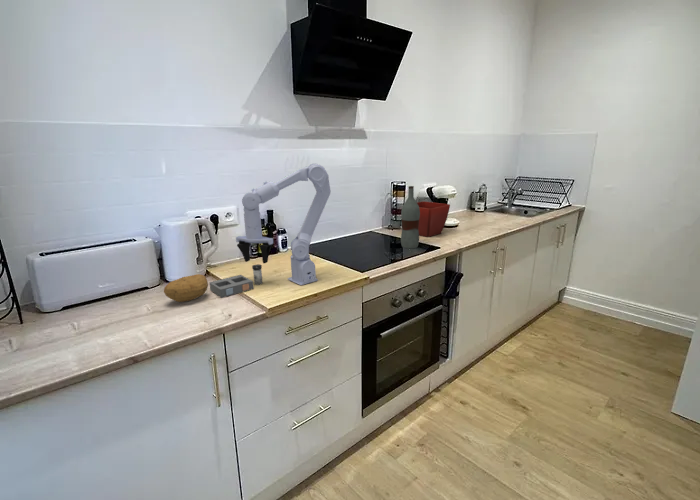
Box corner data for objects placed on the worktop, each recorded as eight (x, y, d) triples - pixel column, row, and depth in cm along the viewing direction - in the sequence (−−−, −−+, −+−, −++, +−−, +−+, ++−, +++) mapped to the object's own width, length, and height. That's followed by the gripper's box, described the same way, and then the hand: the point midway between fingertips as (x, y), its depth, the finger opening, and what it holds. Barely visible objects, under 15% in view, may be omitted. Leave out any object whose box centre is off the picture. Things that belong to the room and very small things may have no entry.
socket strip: (254, 289, 135) (253, 281, 134) (221, 298, 127) (220, 289, 127) (241, 282, 142) (240, 274, 142) (210, 290, 135) (209, 282, 134)
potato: (161, 302, 125) (157, 279, 123) (203, 290, 134) (200, 269, 132) (172, 310, 118) (168, 287, 116) (214, 298, 128) (211, 276, 125)
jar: (264, 283, 140) (263, 265, 138) (256, 285, 138) (254, 267, 136) (260, 281, 143) (258, 263, 141) (252, 283, 141) (250, 265, 139)
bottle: (419, 249, 183) (421, 187, 175) (400, 248, 184) (401, 187, 176) (418, 244, 192) (420, 185, 184) (400, 244, 193) (401, 185, 185)
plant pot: (429, 239, 201) (430, 208, 196) (402, 234, 215) (402, 204, 210) (449, 233, 213) (451, 204, 209) (422, 228, 227) (423, 201, 222)
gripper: (276, 224, 136) (279, 260, 140) (242, 222, 141) (245, 257, 144) (266, 228, 130) (269, 265, 133) (230, 226, 134) (234, 262, 138)
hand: (256, 261), depth 138 cm, fingers open, 7 cm apart
